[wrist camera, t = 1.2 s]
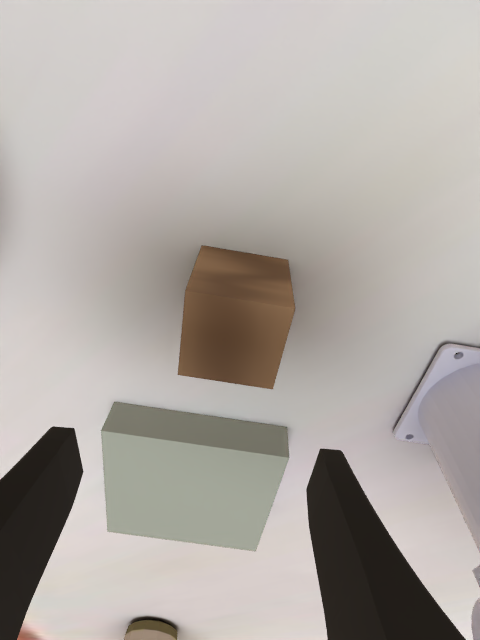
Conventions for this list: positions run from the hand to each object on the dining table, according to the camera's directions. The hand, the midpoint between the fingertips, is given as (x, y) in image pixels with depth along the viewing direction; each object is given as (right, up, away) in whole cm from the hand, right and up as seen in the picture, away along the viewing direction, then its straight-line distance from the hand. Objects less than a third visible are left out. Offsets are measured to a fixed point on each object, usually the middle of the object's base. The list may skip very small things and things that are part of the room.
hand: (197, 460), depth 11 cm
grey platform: (-2, -7, +18) cm, 20 cm away
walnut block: (+1, +6, +9) cm, 11 cm away
